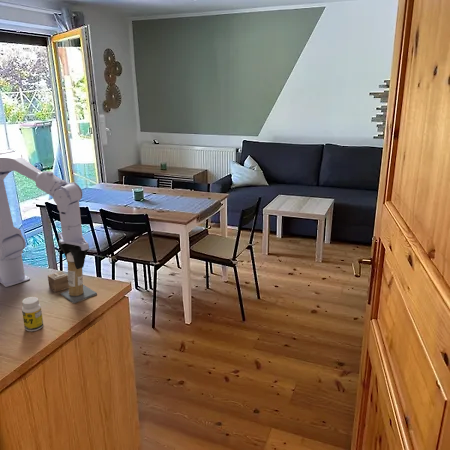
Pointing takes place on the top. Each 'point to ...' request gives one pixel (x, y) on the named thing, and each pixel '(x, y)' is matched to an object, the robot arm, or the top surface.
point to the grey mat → (85, 295)
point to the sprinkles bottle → (74, 277)
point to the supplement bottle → (32, 314)
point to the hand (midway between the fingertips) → (75, 265)
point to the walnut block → (58, 281)
